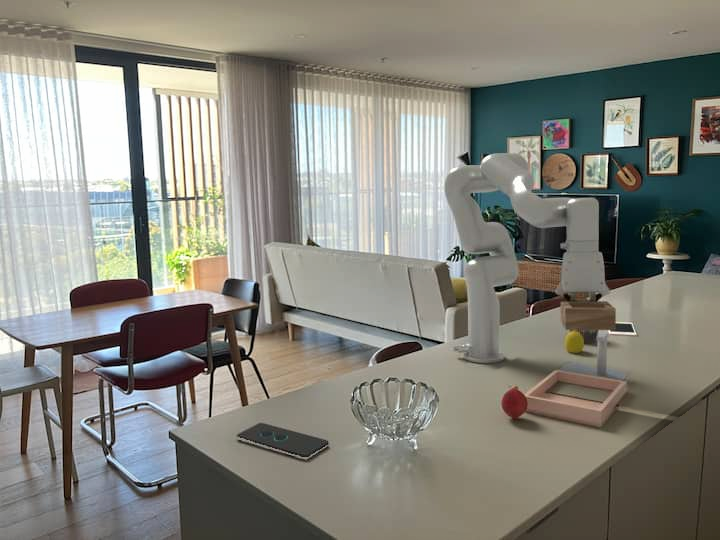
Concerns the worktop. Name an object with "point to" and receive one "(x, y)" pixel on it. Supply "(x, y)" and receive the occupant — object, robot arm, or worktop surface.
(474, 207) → the robot arm
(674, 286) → the worktop surface
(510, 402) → the onion
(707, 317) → the worktop surface
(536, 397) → the tray
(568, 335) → the lemon
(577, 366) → the stand
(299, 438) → the slab with cyan rings
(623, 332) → the cell phone
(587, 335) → the cupcake
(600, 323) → the wooden bar frame
